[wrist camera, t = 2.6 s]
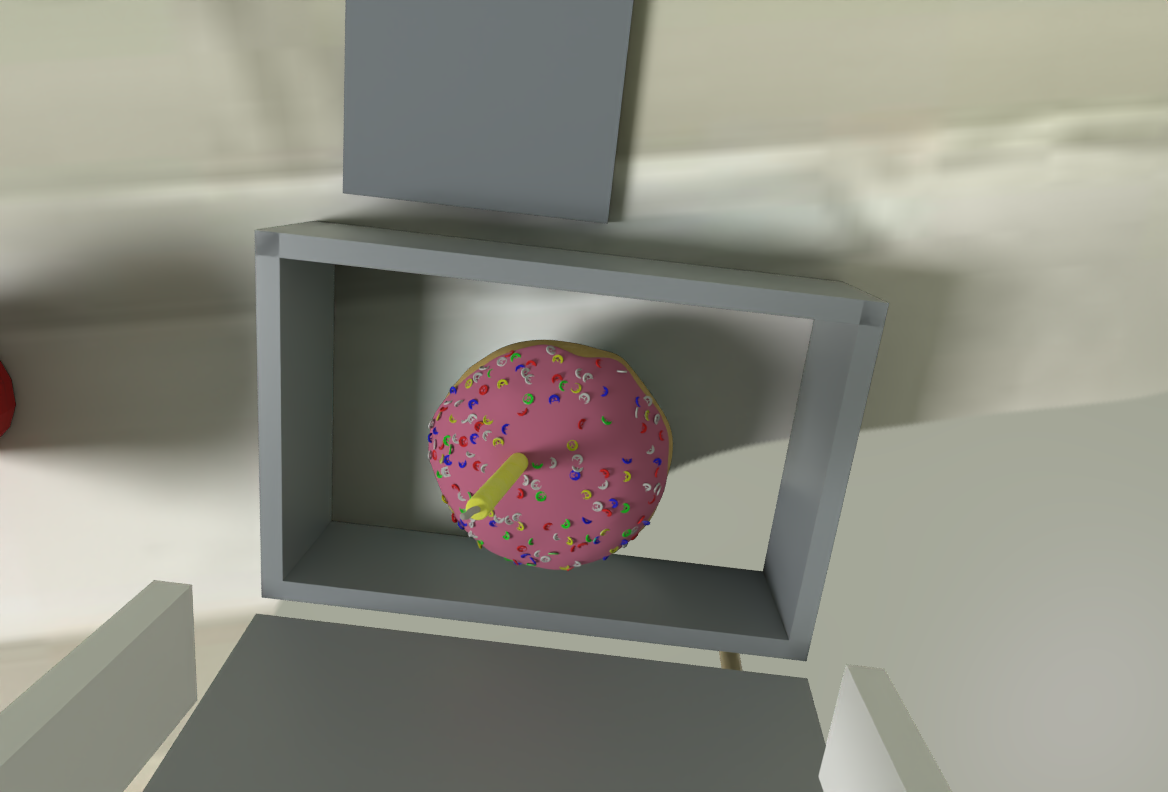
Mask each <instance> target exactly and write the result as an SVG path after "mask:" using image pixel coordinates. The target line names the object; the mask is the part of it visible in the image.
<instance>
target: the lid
mask: <svg viewBox="0 0 1168 792" xmlns="http://www.w3.org/2000/svg"><path fill="white" fill-rule="evenodd" d="M825 748H826V745H825V742H824V738H823V734H822V730H821V727H820V723H819V719H818V716H817V712H816V708H815V705H814V701H813V697H812V694H811V690H810V687H809V683H808V679H807V678H799V677H790V676H781V675H772V674H764V673H756V672H747V671H739V670H731V669H722V668H713V667H705V666H696V665H688V664H679V663H671V662H661V661H654V660H645V659H636V658H628V657H620V656H611V655H603V654H594V653H585V652H577V651H569V650H560V649H552V648H543V647H534V646H526V645H517V644H509V643H501V642H492V641H484V640H475V639H467V638H458V637H449V636H441V635H433V634H424V633H415V632H407V631H398V630H390V629H381V628H372V627H364V626H356V625H347V624H339V623H330V622H321V621H313V620H305V619H296V618H288V617H279V616H271V615H262V614H256V615H255V616H254V618H253V619H252V621H251V623H250V624H249V626H248V627H247V629H246V630H245V632H244V634H243V635H242V637H241V638H240V640H239V641H238V643H237V645H236V646H235V648H234V649H233V651H232V652H231V654H230V656H229V657H228V659H227V660H226V662H225V663H224V665H223V666H222V668H221V670H220V671H219V673H218V674H217V676H216V677H215V679H214V681H213V682H212V684H211V685H210V687H209V688H208V690H207V692H206V693H205V695H204V696H203V698H202V699H201V701H200V703H199V704H198V706H197V707H196V709H195V710H194V712H193V714H192V715H191V717H190V718H189V720H188V721H187V723H186V725H185V726H184V728H183V729H182V731H181V732H180V734H179V736H178V737H177V739H176V740H175V742H174V743H173V745H172V747H171V748H170V750H169V751H168V753H167V754H166V756H165V758H164V759H163V761H162V762H161V764H160V765H159V767H158V769H157V770H156V772H155V773H154V775H153V776H152V778H151V779H150V781H149V783H148V784H147V786H146V787H145V789H144V790H143V792H823V789H822V786H821V783H820V780H819V777H818V776H819V772H820V768H821V764H822V760H823V756H824V752H825Z"/></svg>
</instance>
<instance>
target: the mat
mask: <svg viewBox="0 0 1168 792" xmlns="http://www.w3.org/2000/svg"><path fill="white" fill-rule="evenodd" d="M632 8H633V0H346V13H345V81H344V149H343V193H346V194H354V195H363V196H372V197H380V198H389V199H398V200H406V201H415V202H424V203H433V204H441V205H450V206H459V207H467V208H476V209H485V210H493V211H502V212H511V213H519V214H528V215H537V216H545V217H554V218H563V219H572V220H580V221H589V222H598V223H606V224H607V223H608V215H609V206H610V198H611V189H612V180H613V172H614V163H615V155H616V146H617V137H618V129H619V120H620V112H621V103H622V94H623V86H624V77H625V69H626V60H627V51H628V43H629V34H630V26H631V17H632Z"/></svg>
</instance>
